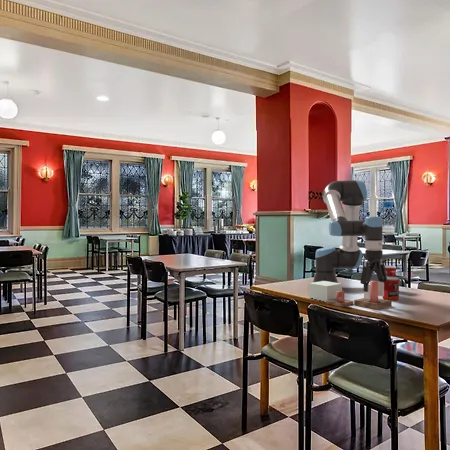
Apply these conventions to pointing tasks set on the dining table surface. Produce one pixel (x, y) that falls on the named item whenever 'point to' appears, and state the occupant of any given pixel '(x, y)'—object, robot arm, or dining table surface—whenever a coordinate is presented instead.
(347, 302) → the board
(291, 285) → the dining table surface
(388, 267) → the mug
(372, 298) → the peg
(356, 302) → the wooden square frame
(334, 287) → the block
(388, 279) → the canned food
